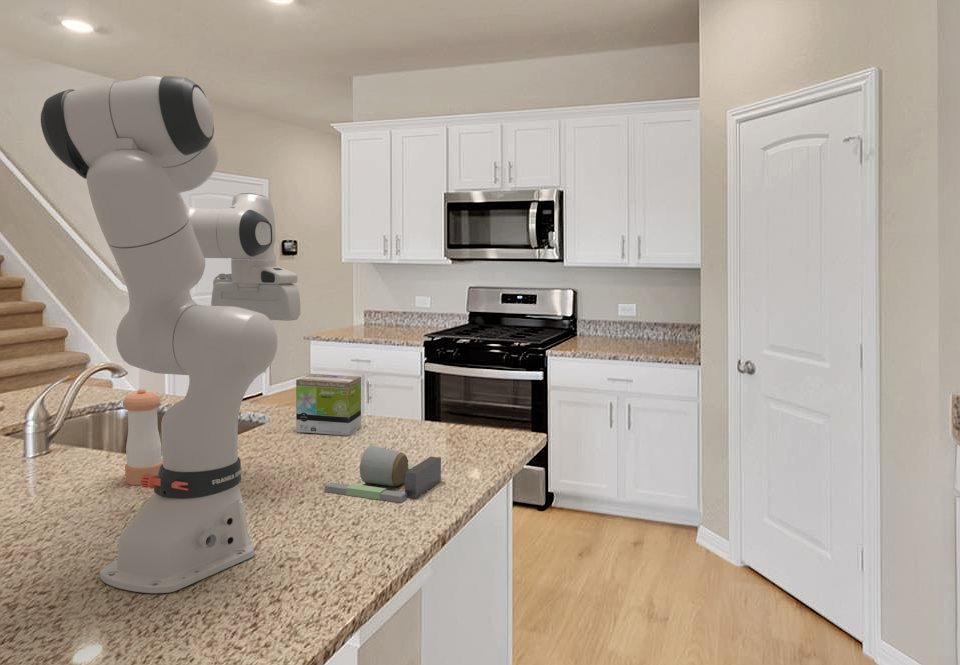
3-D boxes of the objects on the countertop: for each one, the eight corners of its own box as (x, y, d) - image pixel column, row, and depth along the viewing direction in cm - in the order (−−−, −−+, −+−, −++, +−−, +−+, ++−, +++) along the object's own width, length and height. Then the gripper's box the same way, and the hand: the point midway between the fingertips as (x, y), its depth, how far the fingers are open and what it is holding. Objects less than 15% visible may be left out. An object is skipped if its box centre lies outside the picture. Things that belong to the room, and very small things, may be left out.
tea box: (295, 433, 185) (294, 378, 184) (310, 425, 195) (310, 372, 194) (349, 436, 183) (349, 381, 181) (362, 427, 193) (361, 374, 191)
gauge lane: (400, 503, 134) (400, 495, 133) (324, 491, 139) (324, 484, 139) (439, 475, 151) (439, 468, 151) (370, 466, 157) (370, 459, 157)
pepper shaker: (149, 486, 141) (145, 393, 139) (117, 483, 143) (113, 391, 141) (171, 475, 148) (168, 387, 146) (141, 473, 150) (137, 385, 148)
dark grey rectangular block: (416, 498, 136) (416, 473, 135) (405, 497, 137) (405, 472, 136) (440, 480, 147) (441, 457, 147) (430, 479, 148) (430, 456, 148)
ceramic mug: (395, 491, 140) (395, 454, 139) (358, 487, 143) (358, 450, 142) (416, 477, 150) (416, 442, 149) (382, 473, 153) (382, 438, 152)
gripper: (202, 273, 145) (204, 339, 147) (285, 275, 138) (286, 344, 140) (223, 273, 151) (225, 336, 152) (304, 274, 144) (305, 341, 145)
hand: (255, 340), depth 146 cm, fingers closed
